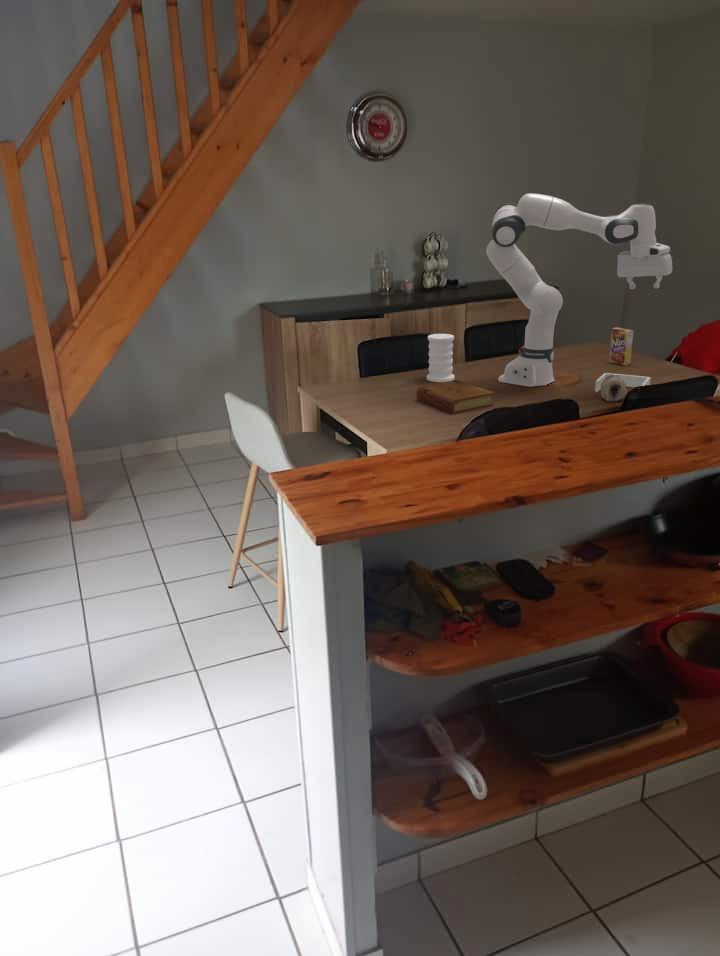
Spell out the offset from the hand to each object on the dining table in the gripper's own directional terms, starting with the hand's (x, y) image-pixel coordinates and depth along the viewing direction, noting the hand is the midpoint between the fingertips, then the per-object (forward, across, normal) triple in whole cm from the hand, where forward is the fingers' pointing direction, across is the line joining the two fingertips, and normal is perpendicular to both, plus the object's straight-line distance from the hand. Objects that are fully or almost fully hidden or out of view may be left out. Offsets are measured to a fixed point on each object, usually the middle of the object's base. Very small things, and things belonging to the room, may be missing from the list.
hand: (644, 288), depth 274 cm
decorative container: (+28, -70, -41) cm, 86 cm away
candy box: (+38, -31, +31) cm, 58 cm away
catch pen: (+37, -6, -8) cm, 39 cm away
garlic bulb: (+37, -2, -21) cm, 43 cm away
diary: (+30, -41, -64) cm, 82 cm away
